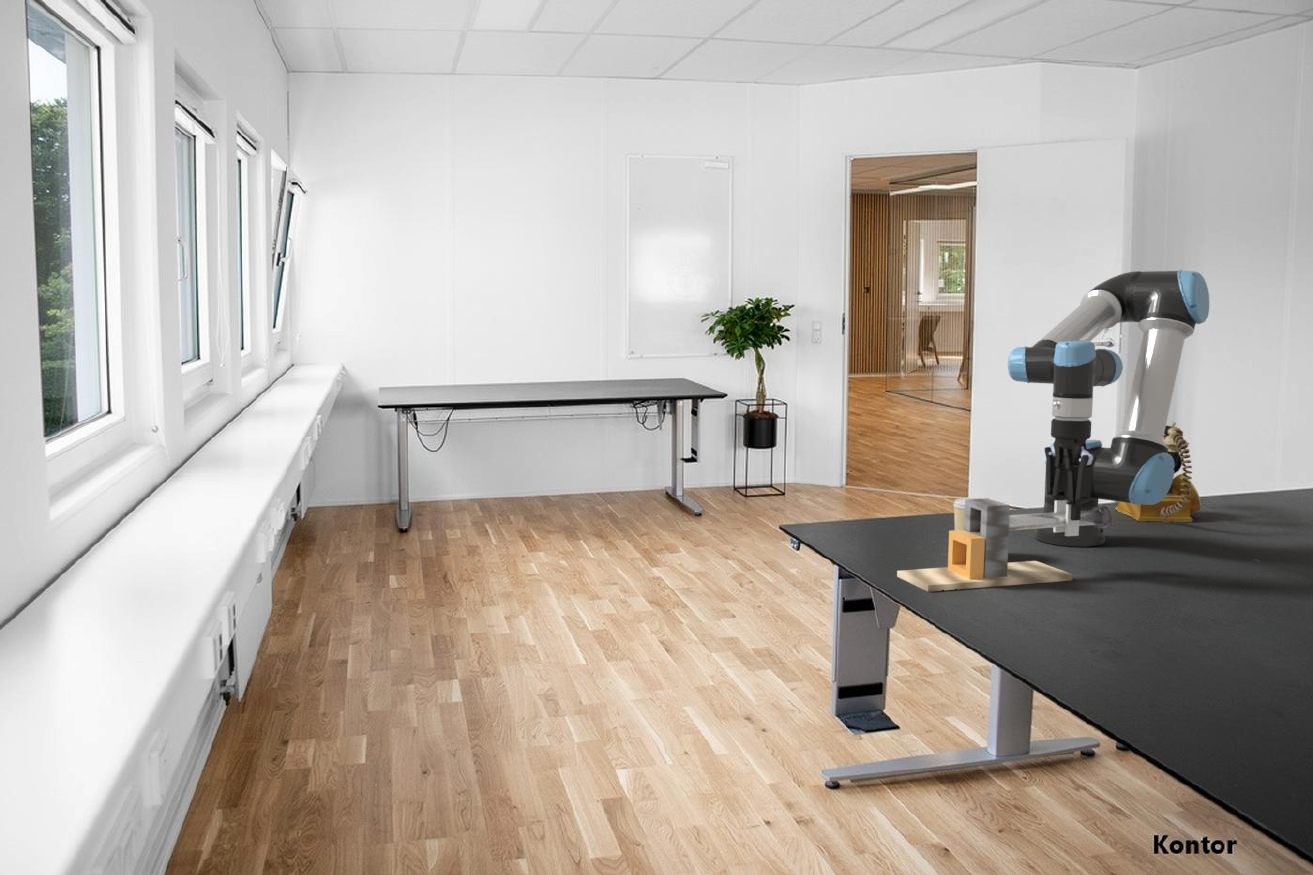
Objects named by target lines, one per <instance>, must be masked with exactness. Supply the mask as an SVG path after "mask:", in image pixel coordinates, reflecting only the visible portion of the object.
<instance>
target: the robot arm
mask: <svg viewBox="0 0 1313 875" xmlns="http://www.w3.org/2000/svg"><path fill="white" fill-rule="evenodd" d="M1209 312H1210V293H1209V288H1208V284H1207V282H1206V279H1205V278H1204V276H1203V275H1202V274H1201V273H1200V272H1197V271H1193V270H1192V271H1191V270H1182V269H1179V270H1162V271H1161V270H1159V271H1155V270H1154V271H1151V270H1149V271H1130V272H1124V273H1121V274H1118V275H1116V276H1112V277H1111V278H1109V279H1106V280H1105V281H1103V282H1101V283H1099V284H1097V285H1096V286H1095V287H1093V288H1092V289H1090V290H1089V291H1088V292H1087V293H1086V294H1084V296H1083V297H1082V299H1081V300H1080V305H1079V306H1077V307H1076V308H1074V310H1073V311H1072V312H1071V313H1069V314H1068V315H1067V316H1066V317H1065V318H1064V319H1062V320H1061V321H1060V322H1059V323H1057V325H1055V327H1053V328H1052V329H1051V330H1050V331H1049V332H1047V333H1046V334H1045V335H1044V336H1043V337H1042V338H1041V339H1040V340H1038V341H1037V342H1036V343H1034V345H1032V346H1030V347H1029V346H1021V347H1020V346H1018V347H1015V348H1013V349H1012V350H1011V352H1010V354H1009V356H1008V359H1007V370H1008V375H1009V376H1010V378H1011V379H1012V380H1013V381H1016V382H1021V383H1022V382H1023V383H1027V384H1050V385H1051V384H1053V386H1052V387H1053V390H1052V406H1051V407H1052V408H1051V409H1052V413H1051V416H1053V418H1052V420H1051V424H1050V427H1051V428H1050V436H1051V437H1052V438H1054V441H1053V443H1051V444H1049V446H1046V447H1045V448H1044V453H1045V458H1046V459H1045V462H1044V463H1045V480H1044V503H1043V507H1042V510H1041V512H1040V513H1054V512H1066V518H1065V527H1054V528H1038V529H1035V530H1034V538H1035V540H1038V541H1040V542H1042V543H1047V544H1052V545H1057V546H1063V547H1064V546H1065V547H1095V546H1096V547H1097V546H1101V545H1104V544H1105V542H1106V541H1105V538H1106V532H1105V530H1104V529H1105V528H1096V527H1095V526H1094V525H1086V526H1079V520H1080V518H1081V511H1088V510H1092V509H1093V508H1094V507H1098V506H1099V500H1106V501H1111V502H1112V501H1113V502H1118V501H1119V502H1126V503H1132V504H1135V505H1138V504H1144V505H1154V504H1157V503H1159V502H1160V501H1161V500H1162V499H1163V498H1164V497H1165V496H1166V494H1167V493H1168V491H1169V489H1170V487H1171V484H1172V481H1173V479H1174V478H1175V477H1174V476H1175V474H1174V470H1173V469H1174V467H1175V464H1174V460H1173V457H1172V456H1171V455H1169V454H1168V447H1167V445H1166V444H1165V443H1164V441H1163V439H1164V437H1163V436H1164V435H1165V434H1164V432H1165V427H1166V426H1167V422H1168V417H1169V412H1170V407H1171V404H1172V399H1173V395H1174V394H1173V393H1174V391H1175V390H1174V389H1175V386H1176V385H1175V384H1176V381H1177V376H1178V371H1179V366H1180V363H1181V357H1182V351H1183V348H1184V344H1185V340H1186V339H1188V338H1189V337H1191V336H1193V334H1194V331H1195V327H1196V324H1197V325H1201V324H1203V323H1205V322H1206V321H1207V318H1208V317H1209ZM1119 323H1120V324H1121V323H1138V324H1137V325H1138V326H1137V327H1138V328H1139V329H1140V331H1141V332H1142V333H1143V334H1142V338H1141V343H1140V347H1139V352H1138V357H1137V360H1136V366H1135V369H1134V373H1133V374H1134V375H1133V379H1132V383H1131V387H1130V393H1129V397H1128V401H1127V402H1128V403H1127V406H1126V410H1125V415H1124V418H1123V424H1122V428H1121V432H1120V433H1118V434H1117V435H1114V437H1112V439H1111V444H1110V447H1103V443H1102V441H1101V439H1100V440H1099V439H1090V438H1091V436H1092V421H1091V420H1090V419H1091V418H1092V417H1093V402H1094V401H1093V399H1094V397H1093V396H1094V387H1106V386H1109V385H1112V384H1114V383H1115V382H1116V381H1118V380H1119V378H1120V377H1121V376H1122V373H1123V369H1124V367H1123V361H1122V358H1121V357H1120V355H1118V353H1116V352H1115V351H1113V350H1112V349H1111V350H1110V349H1106V348H1096V345H1095V343H1094V342H1092V340H1094V339H1095V338H1096V337H1097V336H1098V335H1099V334H1101V332H1102V331H1103V330H1105V329H1109V328H1113V327H1115V325H1117V324H1119Z"/></svg>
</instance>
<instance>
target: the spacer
mask: <svg viewBox="0 0 1313 875" xmlns="http://www.w3.org/2000/svg"><path fill="white" fill-rule="evenodd" d="M966 545H967V550H966ZM984 548H985V538H983V537H981V536H978V535H975V534H972V533H970V532H967V531H964V530H955V529H953V530H949V531H948V555H947V556H948V558H947V567H948V570H949V571H952V572H954V573H956V574H958V575H961V576H963V577H965V578H968V579H982V578H983V573H984ZM965 559H966V563H965Z"/></svg>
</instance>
